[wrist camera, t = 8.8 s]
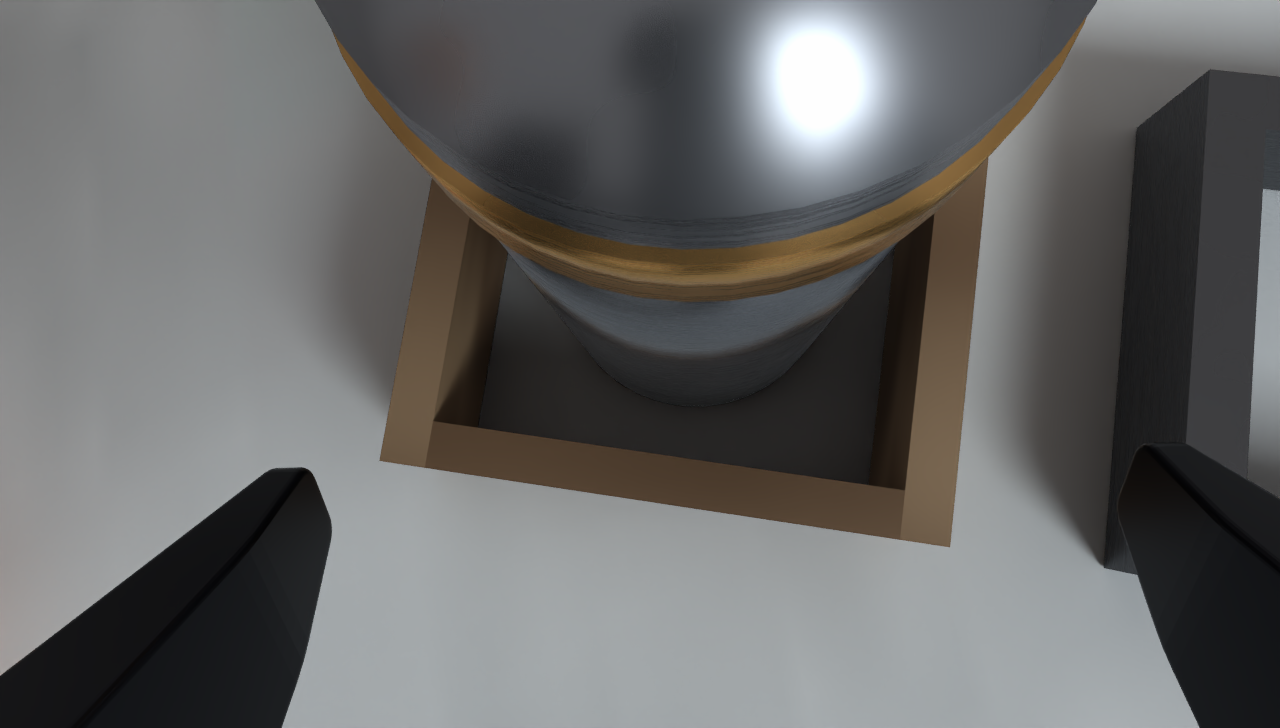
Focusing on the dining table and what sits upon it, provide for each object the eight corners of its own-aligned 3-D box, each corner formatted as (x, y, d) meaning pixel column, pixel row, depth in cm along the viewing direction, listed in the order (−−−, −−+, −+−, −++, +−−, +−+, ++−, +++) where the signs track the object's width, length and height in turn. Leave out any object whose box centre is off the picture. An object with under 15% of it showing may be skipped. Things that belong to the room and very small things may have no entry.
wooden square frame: (904, 535, 17) (949, 547, 14) (432, 464, 17) (379, 460, 14) (952, 78, 18) (1003, -2, 15) (509, 30, 19) (475, -55, 16)
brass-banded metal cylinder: (712, 469, 17) (762, 433, 5) (504, 292, 18) (85, -130, 6) (890, 257, 17) (1363, -285, 5) (678, 93, 18) (650, -719, 6)
